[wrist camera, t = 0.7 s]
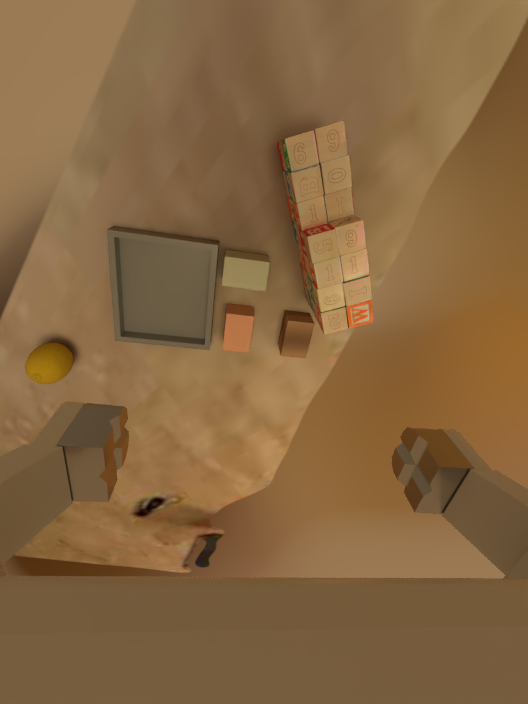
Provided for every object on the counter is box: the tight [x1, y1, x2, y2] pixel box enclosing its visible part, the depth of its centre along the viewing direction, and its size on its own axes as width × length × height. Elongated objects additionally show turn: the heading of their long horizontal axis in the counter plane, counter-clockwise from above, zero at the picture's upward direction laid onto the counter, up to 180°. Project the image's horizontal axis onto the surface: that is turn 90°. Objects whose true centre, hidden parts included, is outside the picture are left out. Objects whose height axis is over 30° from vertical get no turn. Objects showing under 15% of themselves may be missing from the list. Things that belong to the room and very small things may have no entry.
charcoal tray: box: [107, 226, 219, 350], centre depth 48 cm, size 16×14×2 cm
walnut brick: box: [278, 310, 314, 358], centre depth 52 cm, size 6×4×4 cm, turn 171°
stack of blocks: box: [277, 121, 374, 334], centre depth 40 cm, size 21×6×12 cm, turn 14°
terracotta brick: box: [223, 303, 254, 352], centre depth 50 cm, size 6×4×4 cm, turn 171°
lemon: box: [25, 343, 73, 384], centre depth 49 cm, size 6×6×8 cm
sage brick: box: [222, 250, 270, 291], centre depth 46 cm, size 4×6×4 cm, turn 81°
